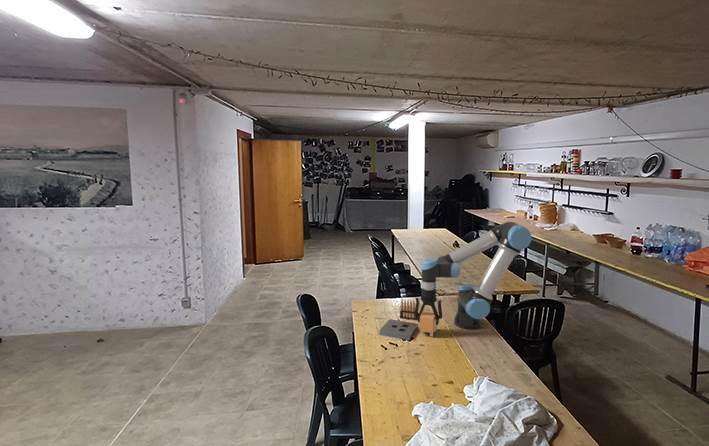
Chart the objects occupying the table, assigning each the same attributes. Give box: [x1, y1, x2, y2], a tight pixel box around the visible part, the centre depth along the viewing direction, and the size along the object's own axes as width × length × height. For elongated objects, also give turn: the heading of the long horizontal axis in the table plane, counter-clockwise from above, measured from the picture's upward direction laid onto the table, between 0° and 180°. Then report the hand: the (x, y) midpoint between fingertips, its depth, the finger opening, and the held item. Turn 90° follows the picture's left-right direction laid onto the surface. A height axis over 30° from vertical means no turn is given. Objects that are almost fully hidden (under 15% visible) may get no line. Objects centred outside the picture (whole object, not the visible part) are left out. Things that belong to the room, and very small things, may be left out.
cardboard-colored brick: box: [419, 311, 436, 337], centre depth 212 cm, size 7×8×10 cm
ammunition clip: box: [399, 298, 418, 321], centre depth 233 cm, size 11×2×12 cm, turn 71°
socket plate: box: [378, 318, 419, 341], centre depth 216 cm, size 17×17×2 cm
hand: (428, 328), depth 213 cm, fingers closed on cardboard-colored brick, 7 cm apart
